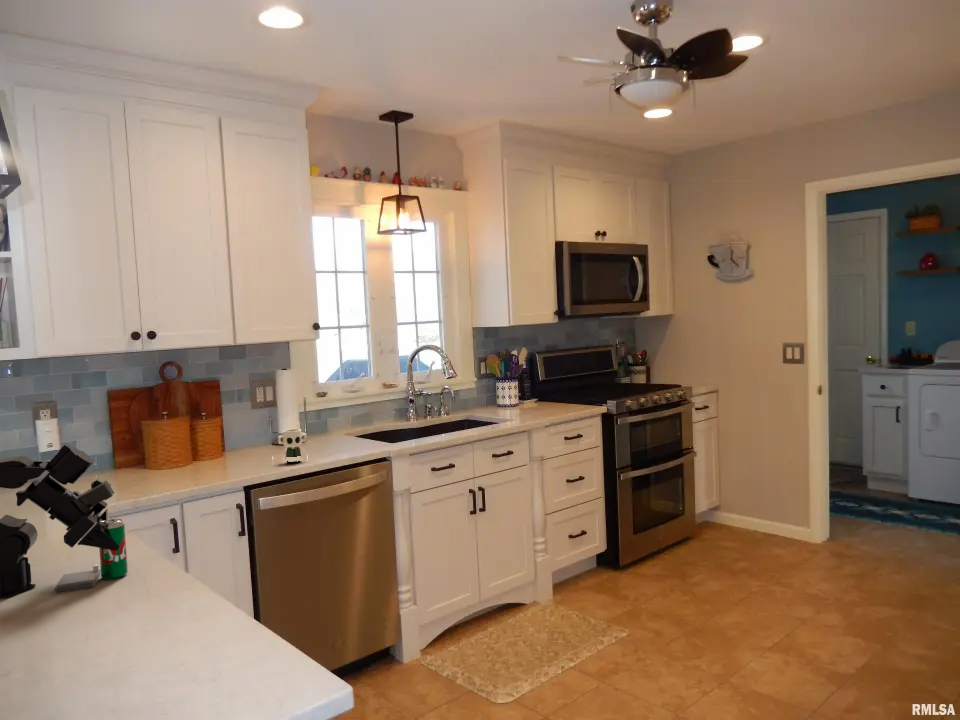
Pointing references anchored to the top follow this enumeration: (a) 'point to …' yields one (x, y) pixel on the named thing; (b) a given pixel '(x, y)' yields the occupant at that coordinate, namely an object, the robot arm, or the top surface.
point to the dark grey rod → (74, 587)
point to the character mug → (292, 441)
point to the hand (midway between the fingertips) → (119, 545)
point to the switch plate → (80, 577)
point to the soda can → (114, 560)
